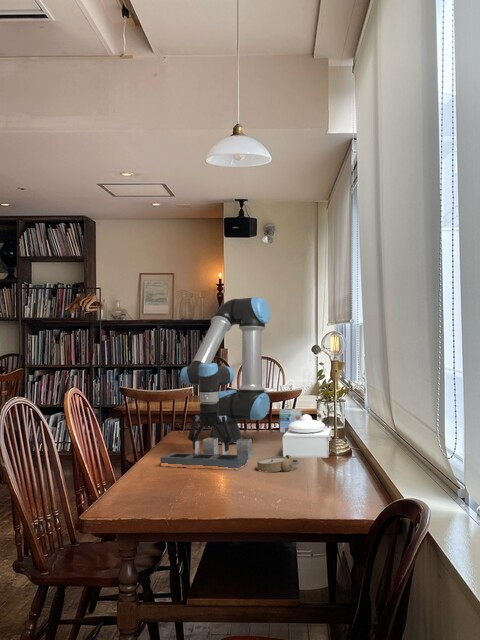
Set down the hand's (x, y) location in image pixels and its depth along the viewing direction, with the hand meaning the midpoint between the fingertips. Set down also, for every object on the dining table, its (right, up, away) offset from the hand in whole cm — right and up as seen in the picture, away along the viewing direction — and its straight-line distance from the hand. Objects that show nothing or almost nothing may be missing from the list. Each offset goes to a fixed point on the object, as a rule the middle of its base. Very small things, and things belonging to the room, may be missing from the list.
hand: (211, 458), depth 244 cm
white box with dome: (+39, +1, +5) cm, 39 cm away
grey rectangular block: (0, 0, 0) cm, 0 cm away
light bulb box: (+36, 0, +59) cm, 70 cm away
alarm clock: (+25, +1, -21) cm, 33 cm away
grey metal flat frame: (-2, 0, -12) cm, 12 cm away
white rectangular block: (+13, 0, -5) cm, 14 cm away
